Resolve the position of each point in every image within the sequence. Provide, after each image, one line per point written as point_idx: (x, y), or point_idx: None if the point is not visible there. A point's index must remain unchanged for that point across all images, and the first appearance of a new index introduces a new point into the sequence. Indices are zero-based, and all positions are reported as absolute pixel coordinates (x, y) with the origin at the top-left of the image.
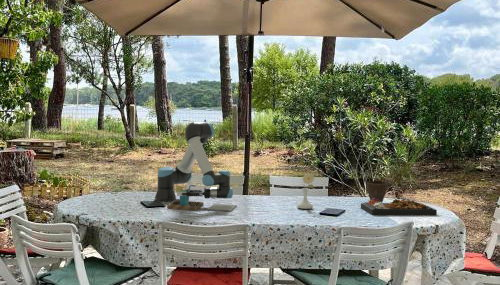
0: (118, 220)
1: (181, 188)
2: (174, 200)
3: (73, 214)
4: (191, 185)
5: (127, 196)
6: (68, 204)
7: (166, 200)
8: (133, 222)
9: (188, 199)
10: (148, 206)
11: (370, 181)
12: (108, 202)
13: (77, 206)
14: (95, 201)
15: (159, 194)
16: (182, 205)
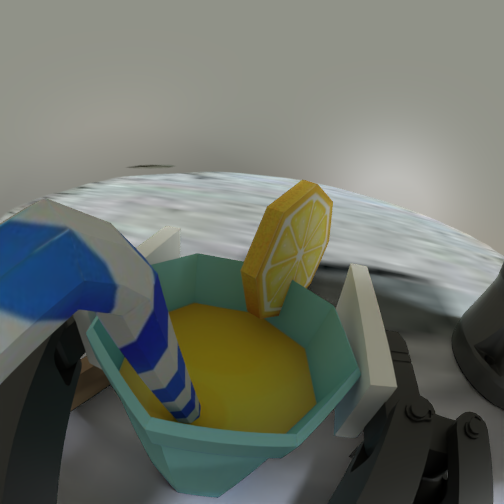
0: (88, 187)
1: (261, 237)
2: (498, 405)
3: (207, 173)
4: (6, 259)
5: (486, 270)
6: (330, 189)
7: (461, 357)
8: (45, 196)
9: (163, 465)
10: None
11: None
12: (371, 222)
13: None
14: (379, 214)
15: (478, 299)
16: (82, 364)
